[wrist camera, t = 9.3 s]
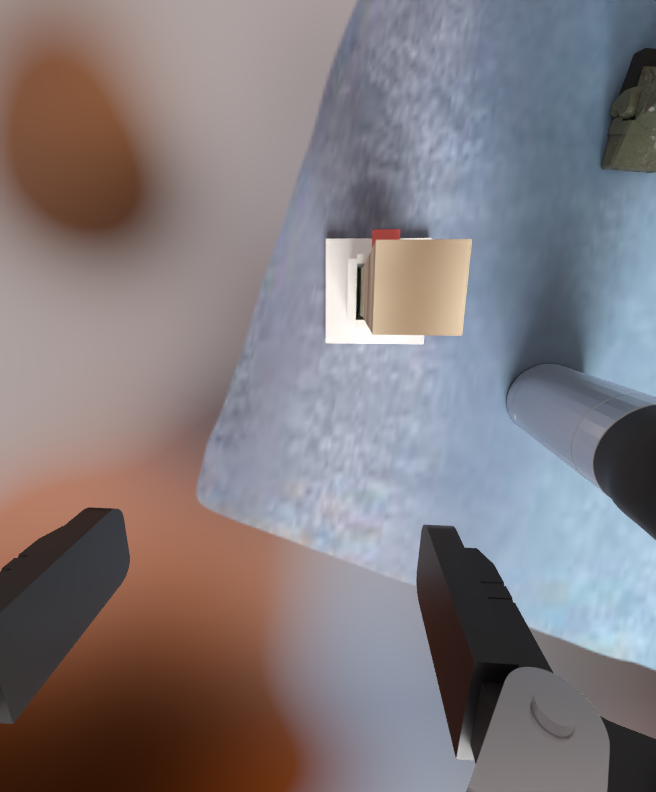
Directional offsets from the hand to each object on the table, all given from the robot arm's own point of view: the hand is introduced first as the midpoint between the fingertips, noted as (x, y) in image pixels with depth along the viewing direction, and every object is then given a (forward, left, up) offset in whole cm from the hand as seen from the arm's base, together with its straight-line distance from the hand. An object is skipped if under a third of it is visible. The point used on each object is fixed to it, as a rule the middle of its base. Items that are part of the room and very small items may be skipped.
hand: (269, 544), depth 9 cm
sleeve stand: (-5, -7, -38) cm, 39 cm away
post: (-5, -7, -30) cm, 31 cm away
